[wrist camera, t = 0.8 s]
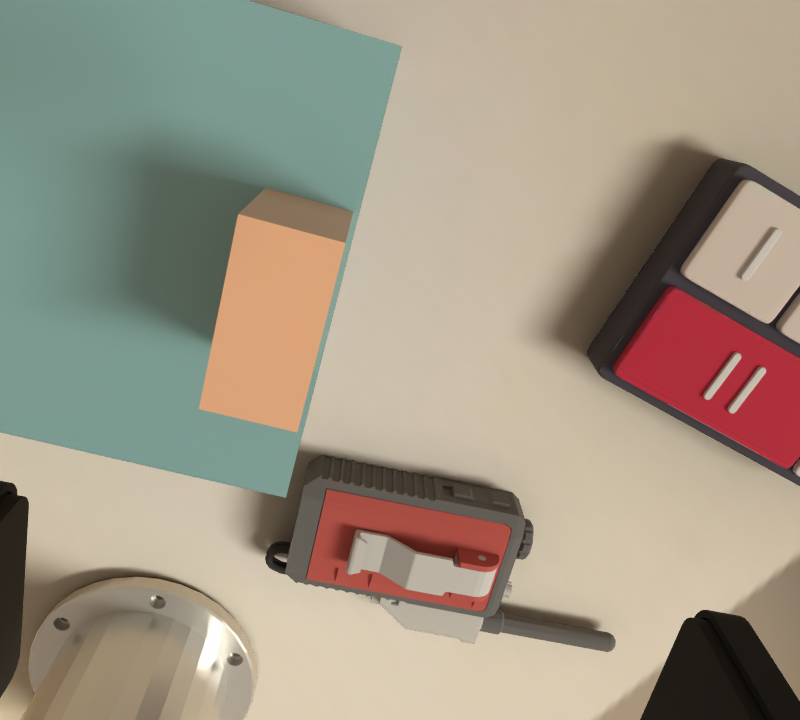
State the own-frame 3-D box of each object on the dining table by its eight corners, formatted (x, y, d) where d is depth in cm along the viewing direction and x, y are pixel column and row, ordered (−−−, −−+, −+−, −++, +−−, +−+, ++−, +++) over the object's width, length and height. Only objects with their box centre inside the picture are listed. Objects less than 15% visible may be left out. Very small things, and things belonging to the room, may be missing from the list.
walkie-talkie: (261, 578, 42) (602, 642, 44) (247, 633, 38) (624, 700, 40) (290, 440, 40) (654, 514, 41) (278, 483, 35) (683, 563, 37)
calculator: (748, 161, 31) (1029, 333, 33) (711, 152, 35) (963, 306, 37) (597, 379, 34) (861, 524, 37) (579, 349, 39) (817, 481, 41)
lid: (289, 484, 30) (266, 578, 25) (-250, 360, 28) (-408, 431, 23) (401, 47, 25) (405, 40, 19) (-262, -152, 23) (-476, -225, 17)
